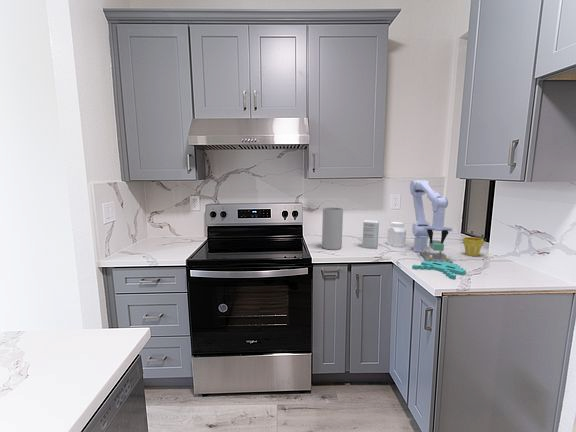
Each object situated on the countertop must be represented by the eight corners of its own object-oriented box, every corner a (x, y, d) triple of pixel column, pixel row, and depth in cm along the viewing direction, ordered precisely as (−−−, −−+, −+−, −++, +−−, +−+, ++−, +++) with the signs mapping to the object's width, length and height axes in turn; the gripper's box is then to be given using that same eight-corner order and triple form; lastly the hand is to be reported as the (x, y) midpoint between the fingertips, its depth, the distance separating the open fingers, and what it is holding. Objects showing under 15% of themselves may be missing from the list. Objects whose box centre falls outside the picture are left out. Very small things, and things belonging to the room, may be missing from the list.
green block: (429, 245, 177) (429, 239, 177) (438, 246, 176) (438, 240, 176) (433, 250, 167) (434, 244, 166) (443, 251, 166) (444, 244, 165)
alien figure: (453, 280, 138) (471, 271, 151) (453, 275, 138) (471, 267, 151) (412, 269, 154) (431, 262, 166) (412, 265, 154) (431, 258, 166)
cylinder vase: (339, 250, 187) (341, 210, 183) (319, 249, 191) (320, 209, 187) (343, 246, 199) (344, 208, 195) (324, 244, 203) (325, 207, 199)
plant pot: (458, 254, 181) (460, 238, 180) (465, 251, 188) (467, 236, 187) (478, 258, 174) (480, 241, 172) (484, 255, 180) (486, 238, 179)
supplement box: (363, 244, 204) (364, 219, 202) (377, 245, 201) (379, 220, 199) (362, 247, 195) (363, 221, 193) (377, 249, 192) (378, 222, 190)
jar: (408, 246, 200) (409, 223, 198) (397, 247, 196) (398, 224, 194) (395, 242, 210) (396, 221, 208) (384, 243, 206) (385, 221, 204)
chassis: (420, 253, 182) (420, 247, 182) (443, 255, 179) (444, 249, 179) (426, 262, 165) (427, 255, 164) (452, 263, 162) (453, 257, 162)
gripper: (425, 219, 167) (424, 244, 169) (454, 221, 164) (452, 245, 165) (423, 218, 174) (421, 241, 176) (451, 219, 170) (449, 242, 172)
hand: (436, 243), depth 171 cm, fingers closed on green block, 5 cm apart
